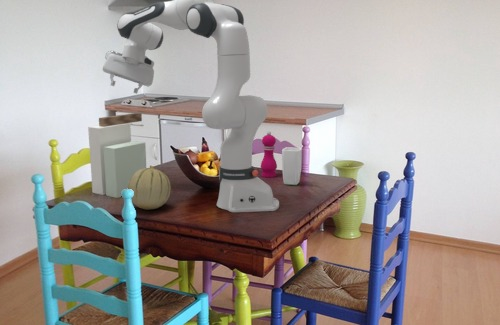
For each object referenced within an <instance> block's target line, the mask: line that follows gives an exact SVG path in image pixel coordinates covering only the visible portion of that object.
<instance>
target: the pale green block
mask: <svg viewBox="0 0 500 325" xmlns="http://www.w3.org/2000/svg"><path fill="white" fill-rule="evenodd" d="M103 149H104V166H105V182H106V194H105V196H106V197H109V198H116V199H118V198H122V197H121V194H120V193H121V191H122V190H123V189H127V188H128V184H129V181H130V179H131V177H132V176H133V175H134V174H135V173H136V172H137V171H138V170H140V169H144V168H147V149H146V142H142V141H136V140H134V141H131V142H128V143H122V144H117V145H112V146H107V147H103Z"/></svg>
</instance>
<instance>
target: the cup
mask: <svg viewBox="0 0 500 325" xmlns="http://www.w3.org/2000/svg"><path fill="white" fill-rule="evenodd" d="M302 150H303V148H302V147H291V146H290V147H289V146H288V147H287V146H286V147H284V148H282V150H281V168H282V169H281V170H282V179H283V180H282V182H283V184H284V185H286V186H297V185H298V184H299V183H300V179H301V172H302V158H303V156H302V153H303V152H302Z"/></svg>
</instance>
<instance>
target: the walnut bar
mask: <svg viewBox="0 0 500 325" xmlns="http://www.w3.org/2000/svg"><path fill="white" fill-rule="evenodd" d="M142 121H143V118H142V112H141V113H140V112H134V113H127V114H119V115H112V116H111V115H110V116H103V117H98V126H102V127H106V126H112V125H119V124H126V123H130V124H131V123H137V122H138V123H139V122H142Z"/></svg>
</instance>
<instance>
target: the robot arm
mask: <svg viewBox="0 0 500 325" xmlns="http://www.w3.org/2000/svg"><path fill="white" fill-rule="evenodd" d="M243 15H244V14H243V13H242V12H241V10H240V9H238V8H237V7H235V6H232V5H228V4H219V3H215V2H214V0H168V1H156V2H154V3H151V4H148V5H147V6H144V7H142V8H139V9H137V10H134V11H129V12H125V13H124V14H122V15H121V16H120V17H119V19H118V21H117V23H116V25H117V27H116V28H117V31H118V33H119V36H120V37H122V38H124V39H126V44H125V45H124V47H123V50H122V53H120V52H117V51H114V50H109V51H107V52H106V53H105V57H104V58H105V61H104V65H103V67H102V71H103V73H106V74H109V79H110V86H112V87H115V86H116V82H117V81H116V80H114V77H118V78H121V79H124V80H126V81H127V80H128V82H133V83H136V84H138V85H137V86H138V87H134V89H133V93H134V94H138V92H139V90H140V89H141V88H142V87H143V86H144V87H145V86H146V87H151V86H152V84H153V82H154V77H155V76H154V75H155V70H154V66H155V62H154V61H153V60H152V59H151V58H149V57H148V56H147V55H146V51H148V50H149V51H153V50H157V49H159V48H160V47H161V46H162V44H163V41H164V33H163V30H162V28H161V27H159V26H157V25H156V24H153V23H158V24H161V25H165V26H167V27H169V28H173V29H175V30H179V31H184V30H189V31H190V32H191V33H193V34H194V35H197V36H201V37H204V38H206V39H210V37H211V38H214V40H215V42H216V46H217V47H216V48H217V51H216V52H217V53H216V54H217V55H216V56H217V80H216V85H215V88H214V90H213V92H212V95H211V96H210V97H209V99H208V100H207V101H206V102H205V103H203V104H204V105H203V107H202V110H201V117H202V120H203V122H204V124H205V125H206V127H207V128H209V129H214V130H222V131H223V130H230V133H229V135H228V137H227V138H225V139H224V140H223V141H222V143H221V144H220V147H219V151H220V154H219V156H220V166H219V170H218V178H219V183H220V184H219V193H218V199H217V202H216V206H217V207H218V208H220V209H222V210H226V211H229V212H230V213H249V212H250V213H251V212H252V213H253V212H270V211H271V212H274V211H276V210H278V209H279V208H280V201H279V199H278V198H275V197H274V193H273V190H272V187H271V186H270V184H268V183H266V182H265V181H263V180H262V179H261V178H259V177H258V174H259V171H258V168H257V167H255V166H253V165H252V164H253V162H252V160H253V155H252V154H253V143H254V139H255V137H256V134H257V132H258V129H259V127H260V126H261V125H262V124H263V122H265V120H266V119H267V117H268V111H269V110H268V104H267V103H266V101H265V100H264V98H262V97H260V96H255V95H249V94H248V95H240V93H241V89H242V87H243V86H244V85H245V84H246V83H248V82H249V80H250V78H251V56H250V55H251V54H250V44H249V37H248V32H247V29H246V27H245V25H244V24H245V18H244V16H243Z"/></svg>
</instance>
